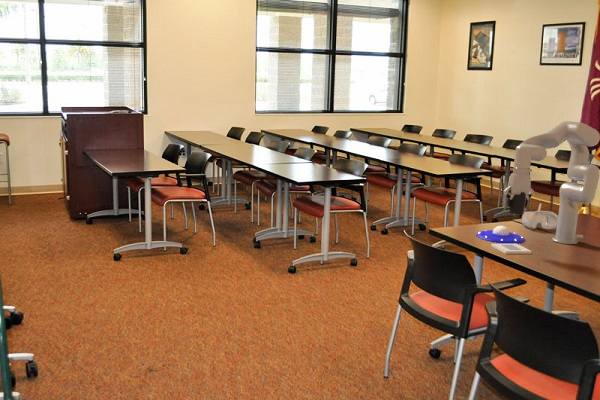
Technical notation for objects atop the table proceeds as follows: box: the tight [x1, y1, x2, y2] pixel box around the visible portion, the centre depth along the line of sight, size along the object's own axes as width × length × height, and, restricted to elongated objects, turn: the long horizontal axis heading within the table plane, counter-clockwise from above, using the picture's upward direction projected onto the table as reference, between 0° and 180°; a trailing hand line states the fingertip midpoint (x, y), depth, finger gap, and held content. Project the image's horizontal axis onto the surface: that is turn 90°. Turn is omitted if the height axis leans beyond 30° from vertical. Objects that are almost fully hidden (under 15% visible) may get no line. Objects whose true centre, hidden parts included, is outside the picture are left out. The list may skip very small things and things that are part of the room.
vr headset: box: [521, 202, 558, 231], centre depth 371 cm, size 18×11×14 cm, turn 99°
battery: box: [508, 192, 526, 216], centre depth 316 cm, size 7×4×11 cm, turn 65°
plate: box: [490, 243, 532, 255], centre depth 321 cm, size 14×14×1 cm
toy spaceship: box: [475, 225, 526, 245], centre depth 344 cm, size 25×25×7 cm
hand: (517, 206), depth 317 cm, fingers closed on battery, 7 cm apart
